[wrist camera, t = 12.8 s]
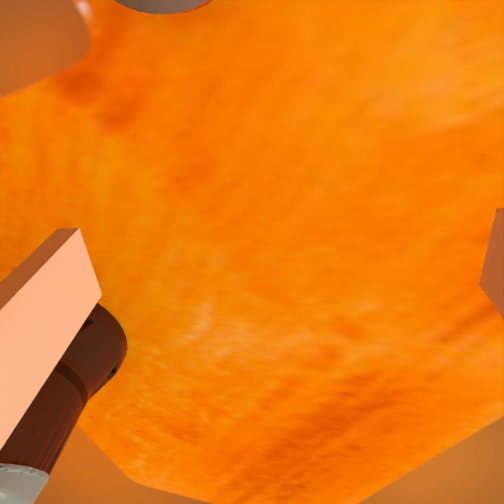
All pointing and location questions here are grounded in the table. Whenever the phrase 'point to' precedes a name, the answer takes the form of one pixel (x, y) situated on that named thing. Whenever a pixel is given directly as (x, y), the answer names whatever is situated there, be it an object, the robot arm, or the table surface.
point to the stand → (163, 5)
